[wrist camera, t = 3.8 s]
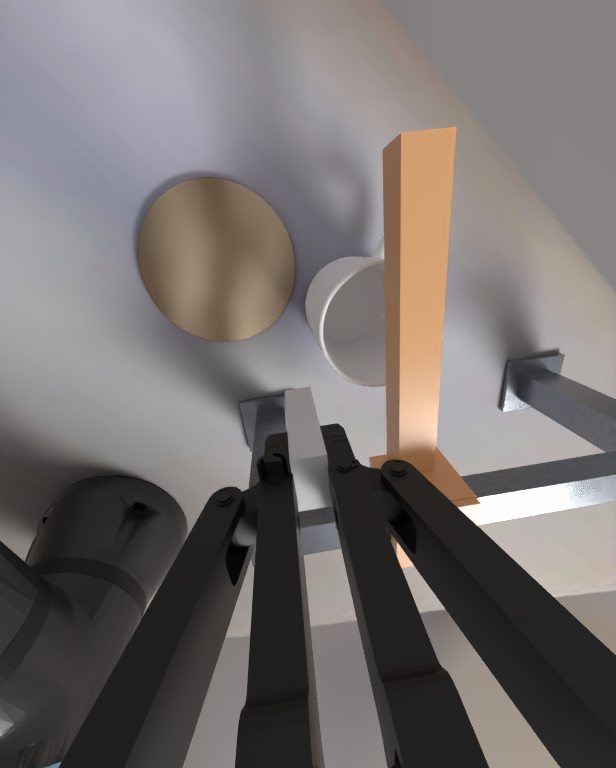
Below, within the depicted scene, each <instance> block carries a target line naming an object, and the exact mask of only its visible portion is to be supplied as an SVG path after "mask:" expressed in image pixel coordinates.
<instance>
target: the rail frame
mask: <svg viewBox="0 0 616 768" xmlns="http://www.w3.org/2000/svg"><path fill="white" fill-rule="evenodd" d="M564 356H565V355H564V354H561V353H558V354H551V355H544V356H538V357H531V358H524V359H517V360H511V361H507V366H506V372H505V378H504V385H503V391H502V398H501V404H500V410H501V411H503V412H505V411H512V410H518V409H525V408H531V407H533V408H534V409H536V410H538V411H539V412H541V413H543V414H544V415H546V416H548V417H549V418H551V419H552V420H554V421H556V422H557V423H559V424H561V425H562V426H564V427H566V428H567V429H569V430H570V431H572V432H574V433H575V434H577V435H579V436H580V437H582V438H584V439H585V440H587V441H588V442H590V443H592V444H593V445H595V446H597V447H598V448H600V449H602V450H603V451H605V452H606V453H600V454H594V455H588V456H582V457H576V458H570V459H564V460H558V461H552V462H546V463H540V464H534V465H528V466H522V467H516V468H510V469H504V470H498V471H492V472H486V473H480V474H474V475H468V476H462V477H461V478H462V479H463V480H464V481H465V483H466V484H467V485H468V486H469V488H470V489H471V490H472V491H473V492H474V494H475V495H476V498H477V499H478V500H479V501H480V502H481V509H480V516H479V523H478V525H479V524H485V523H491V522H497V521H502V520H508V519H514V518H520V517H525V516H531V515H537V514H543V513H548V512H554V511H560V510H566V509H571V508H577V507H583V506H588V505H594V504H600V503H606V502H611V501H616V399H614V398H612V397H609V396H607V395H605V394H602V393H600V392H598V391H596V390H593V389H591V388H589V387H587V386H584V385H582V384H580V383H577V382H575V381H573V380H571V379H568V378H566V377H564V376H561V375H560V373H561V368H562V364H563V360H564ZM239 405H240V409H241V414H242V418H243V422H244V427H245V431H246V435H247V439H248V444H249V448H250V452H251V451H253V452H252V462H251V472H250V481H249V489H250V488H252V487H254V486H255V485H256V484H258V483H259V481H260V479H259V475H258V470H257V466H256V463H257V460H258V459H259V458H260V457H261V456H263V455H264V449H265V440H266V439H267V437H268V436H269V435H271V434H277V433H284V432H287V417H286V403H285V394H283V395H277V396H270V397H263V398H257V399H250V400H243V401H240V402H239ZM299 518H300V525H301V535H302V545H303V555H307V554H313V553H318V552H324V551H330V550H336V549H341V544H340V540H339V535H338V531H337V529H336V526H335V518H334V509H333V506H330V507H324V508H318V509H312V510H306V511H300V512H299ZM385 527H386V526H385ZM386 530H387V532H388V535H389V538H390V540H391V533H390V531H389V530H388V529H387V527H386ZM255 552H256V542H255V547H254V550H253V553H252V556H251V561H252V564H253V567H255Z"/></svg>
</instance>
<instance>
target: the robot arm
mask: <svg viewBox="0 0 616 768" xmlns="http://www.w3.org/2000/svg"><path fill="white" fill-rule="evenodd" d="M285 403H286V417H287V432H284V433H277V434H271V435H269V436H268V437H267V439H266V440H265V449H264V455H263V456H261V457H260V458H259V459H258V460H257V463H256V466H257V470H258V475H259V479H260V481H259V483H258V484H256V485H255V486H254V487H252V488H250V489H247V490H245V491H243V492H241V490H240V489H238V488H237V487H225V488H222V489H220V490H218V491H216V492H215V493H214V494H213V495H212V496H211V497H210V498H209V500H208V502H207V503H206V505H205V507H204V509H203V511H202V512H201V514H200V516H199V518H198V519H197V521H196V523H195V525H194V527H193V528H192V530H191V532H190V534H189V536H188V537H187V539H186V536H187V521H186V517H185V515H184V513H183V511H182V509H181V507H180V506H179V505H178V503H177V502H176V501H175V500H174V499H173V498H172V497H171V496H169V495H168V494H167V493H165V492H164V491H163V490H161V489H159V488H157V487H156V486H154V485H151V484H149V483H146V482H144V481H141V480H137V479H133V478H128V477H120V476H102V477H95V478H90V479H86V480H83V481H80V482H78V483H76V484H74V485H72V486H70V487H68V488H67V489H66V490H64V491H63V492H62V493H61V494H60V495H59V496H58V497H57V498H56V500H55V501H54V502H53V503H52V504H51V505H50V507H49V508H48V509H47V510H46V512H45V513H44V515H43V516H42V518H41V520H40V523H39V526H38V529H37V535H36V536H35V538H34V540H33V542H32V545H31V547H30V549H29V552H28V554H27V557H26V560H25V562H24V561H23V560H22V559H21V558H20V557H18V556H17V555H16V554H15V553H14V552H13V551H11V550H10V549H9V548H8V547H7V546H6V545H5V544H3V543H2V542H1V541H0V768H182V767H183V764H184V761H185V758H186V755H187V752H188V749H189V745H190V743H191V740H192V737H193V734H194V731H195V727H196V724H197V721H198V718H199V715H200V712H201V709H202V706H203V703H204V700H205V697H206V694H207V690H208V688H209V685H210V681H211V678H212V675H213V672H214V669H215V666H216V663H217V660H218V657H219V654H220V651H221V648H222V645H223V642H224V639H225V636H226V633H227V630H228V627H229V623H230V620H231V617H232V614H233V611H234V608H235V605H236V602H237V599H238V596H239V593H240V590H241V587H242V584H243V581H244V578H245V575H246V571H247V568H248V565H249V562H250V559H251V556H252V553H253V550H254V547H255V542H256V552H255V568H254V585H253V601H252V618H251V634H250V650H249V667H248V683H247V684H248V685H247V697H246V703H245V706H244V707H243V709H242V711H241V714H240V719H239V726H238V735H237V748H236V761H235V768H325V765H324V758H323V751H322V742H321V733H320V722H319V712H318V702H317V692H316V681H315V670H314V660H313V650H312V639H311V629H310V618H309V608H308V597H307V587H306V577H305V566H304V556H303V545H302V535H301V525H300V518H299V512H300V511H306V510H312V509H318V508H324V507H330V506H333V509H334V518H335V526H336V529H337V531H338V535H339V540H340V544H341V549H342V553H343V558H344V563H345V567H346V572H347V576H348V581H349V585H350V590H351V595H352V599H353V604H354V608H355V613H356V618H357V622H358V627H359V631H360V636H361V640H362V645H363V650H364V654H365V659H366V663H367V668H368V672H369V677H370V682H371V686H372V691H373V695H374V700H375V704H376V709H377V714H378V718H379V723H380V728H381V733H382V738H383V744H384V750H385V756H386V761H387V766H388V768H489V766H488V764H487V761H486V759H485V757H484V754H483V752H482V749H481V747H480V744H479V742H478V739H477V737H476V735H475V732H474V730H473V727H472V725H471V723H470V720H469V718H468V715H467V713H466V710H465V708H464V706H463V703H462V700H461V698H460V696H459V693H458V691H457V689H456V687H455V685H454V682H453V680H452V679H451V677H450V675H449V673H448V672H447V671H446V670H445V669H444V668H442V667H441V665H440V664H439V661H438V659H437V657H436V655H435V652H434V650H433V647H432V645H431V642H430V639H429V637H428V634H427V632H426V629H425V627H424V624H423V622H422V619H421V616H420V614H419V611H418V609H417V606H416V604H415V601H414V599H413V596H412V594H411V591H410V588H409V586H408V583H407V581H406V578H405V576H404V573H403V571H402V568H401V566H400V563H399V560H398V558H397V555H396V553H395V550H394V548H393V545H392V543H391V540H390V538H389V535H388V532H387V530H386V527H387V529H388V530H389V531H390V533H391V534H392V536H393V537H394V538H395V540H396V541H397V543H398V544H399V545H400V547H401V548H402V549H403V551H404V552H405V554H406V555H407V556H408V558H409V559H410V560H411V562H412V563H413V565H414V566H415V567H416V569H417V570H418V572H419V573H420V574H421V576H422V577H423V578H424V580H425V581H426V583H427V584H428V585H429V587H430V588H431V590H432V591H433V592H434V594H435V595H436V596H437V598H438V599H439V601H440V602H441V603H442V605H443V606H444V608H445V609H446V610H447V612H448V613H449V614H450V616H451V617H452V619H453V620H454V621H455V623H456V624H457V625H458V627H459V628H460V630H461V631H462V632H463V634H464V635H465V637H466V638H467V639H468V641H469V642H470V643H471V645H472V646H473V648H474V649H475V650H476V651H477V653H478V655H479V656H480V657H481V659H482V660H483V661H484V663H485V664H486V666H487V667H488V668H489V670H490V671H491V672H492V674H493V675H494V676H495V678H496V679H497V681H498V682H499V684H500V685H501V686H502V688H503V689H504V690H505V692H506V693H507V695H508V696H509V697H510V699H511V700H512V702H513V703H514V704H515V706H516V707H517V708H518V710H519V711H520V713H521V714H522V715H523V717H524V718H525V719H526V721H527V722H528V723H529V725H530V726H531V728H532V729H533V730H534V732H535V733H536V735H537V736H538V738H539V739H540V740H541V742H542V743H543V744H544V746H545V747H546V748H547V750H548V751H549V753H550V754H551V755H552V757H553V758H554V760H555V761H556V762H557V763H558V765H559V766H560V767H561V768H616V655H615V654H614V653H613V652H611V651H610V650H609V649H608V648H607V647H606V646H605V645H604V644H603V643H602V642H601V641H600V640H598V638H596V637H595V636H594V635H593V634H592V633H591V632H590V631H589V630H588V629H587V628H586V627H585V626H583V625H582V623H580V622H579V621H578V620H577V619H576V618H575V617H574V616H573V615H572V614H571V613H570V612H569V611H568V610H567V609H566V608H565V607H563V606H562V605H561V604H560V603H559V602H558V601H557V600H556V599H555V598H554V597H553V596H552V595H551V594H550V593H548V592H547V591H546V590H545V589H544V588H543V587H542V586H541V585H540V584H539V583H538V582H537V581H536V580H535V579H534V578H532V577H531V576H530V575H529V574H528V573H527V572H526V571H525V570H524V569H523V568H522V567H521V566H520V565H519V564H518V563H516V562H515V561H514V560H513V559H512V558H511V557H510V556H509V555H508V554H507V553H506V552H505V551H504V550H503V549H502V548H500V547H499V546H498V545H497V544H496V543H495V542H494V541H493V540H492V539H491V538H490V537H489V536H488V535H487V534H486V533H484V532H483V531H482V530H481V529H480V528H479V527H478V526H477V525H476V524H475V523H474V522H473V521H472V520H471V519H469V518H468V517H467V516H466V515H465V514H464V513H463V512H462V511H461V510H460V509H459V508H458V507H457V506H456V505H455V504H453V503H452V502H451V501H450V500H449V499H448V498H447V497H446V496H445V495H444V494H443V493H442V492H441V491H440V490H439V489H437V488H436V487H435V486H434V485H433V484H432V483H431V482H430V481H429V480H428V479H427V478H426V477H425V476H424V475H423V474H421V473H420V472H419V471H418V470H417V469H416V468H415V467H414V466H413V465H412V464H410V463H409V462H407V461H404V460H399V459H393V460H388V461H386V462H385V463H383V465H382V466H381V469H379V468H369V467H366V466H363V465H361V464H360V462H359V461H358V460H356V459H355V457H354V454H353V451H352V449H351V446H350V444H349V441H348V438H347V436H346V433H345V430H344V428H343V427H341V426H340V425H339V424H331V425H325V426H320V425H319V421H318V417H317V413H316V409H315V405H314V401H313V397H312V393H311V389H310V387H306V388H299V389H292V390H286V391H285ZM385 526H386V527H385ZM185 539H186V541H185ZM184 542H185V543H184ZM162 581H163V582H162ZM161 583H162V584H161ZM160 584H161V585H160ZM159 586H160V587H159ZM158 587H159V589H158V591H157V593H156V594H155V596H154V598H153V600H152V601H151V603H150V605H149V607H148V609H147V610H146V612H145V614H144V611H145V608H146V606H147V603H148V601H149V600H150V599H151V597H152V596H153V594H154V593H155V591H156V590H157V588H158ZM143 614H144V616H143ZM142 617H143V618H142Z"/></svg>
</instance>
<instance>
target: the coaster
mask: <svg viewBox="0 0 616 768" xmlns="http://www.w3.org/2000/svg"><path fill="white" fill-rule="evenodd" d="M138 260H139V268H140V271H141V275H142V279H143V281H144V284H145V287H146V289H147V291H148V293H149V294H150V296H151V298H152V300H153V301H154V303H155V304H156V305H157V307H158V308H159V309H160V310H161V311H162V313H163V314H164V315H165V316H166V317H167V318H168V319H169V320H171V321H172V322H173V323H174V324H176V325H177V326H178V327H180V328H181V329H183V330H185V331H187V332H188V333H190V334H193V335H195V336H197V337H200V338H204V339H207V340H212V341H221V342H230V341H238V340H243V339H246V338H249V337H252V336H254V335H256V334H258V333H260V332H262V331H263V330H265V329H266V328H268V327H269V326H270V325H271V324H272V323H274V322H275V321H276V319H277V318H278V317H279V316H280V315H281V313H282V312H283V310H284V309H285V307H286V305H287V303H288V301H289V299H290V297H291V294H292V290H293V286H294V281H295V270H296V267H295V255H294V250H293V246H292V243H291V239H290V236H289V234H288V232H287V230H286V227H285V226H284V224H283V222H282V221H281V219H280V217H279V216H278V215H277V213H276V212H275V211H274V209H273V208H272V207H271V206H270V205H269V204H268V203H267V202H266V201H265V200H264V199H263V198H262V197H260V196H259V195H258V194H256V193H255V192H254V191H252V190H250V189H249V188H247V187H245V186H243V185H241V184H238V183H236V182H233V181H230V180H226V179H222V178H213V177H205V178H196V179H190V180H187V181H184V182H181V183H179V184H177V185H175V186H173V187H172V188H170V189H168V190H167V191H166V192H165V193H163V194H162V195H161V196H160V197H159V198H158V199H157V200H156V201H155V202H154V203H153V205H152V206H151V208H150V209H149V211H148V212H147V214H146V217H145V219H144V221H143V223H142V227H141V230H140V234H139V241H138Z"/></svg>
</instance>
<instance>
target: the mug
mask: <svg viewBox="0 0 616 768" xmlns="http://www.w3.org/2000/svg"><path fill="white" fill-rule="evenodd" d="M305 309H306V316H307V320H308V322H309V325H310V327H311V330H312V332H313V334H314V336H315V338H316V340H317V342H318V344H319V347H320V349H321V351H322V353H323V355H324V357H325V359H326V361H327V362H328V364H329V365H330V366H331V368H332V369H333V370H334V371H335V372H336V373H337V374H339V375H340V376H341V377H343V378H344V379H346V380H348V381H350V382H352V383H355V384H358V385H362V386H370V387H379V386H386V346H385V274H384V236H383V238H382V239H381V241H380V242H379V244H378V246H377V247H376V249H375V251H374V253H373V254H372V256H371V257H356V256H350V257H343V258H340V259H337V260H334V261H332V262H330V263H329V264H327V265H326V266H324V267H323V268H322V269H321V270H320V271H319V272H318V273H317V274H316V276H315V277H314V278H313V280H312V282H311V283H310V286H309V288H308V291H307V295H306V301H305Z"/></svg>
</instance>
